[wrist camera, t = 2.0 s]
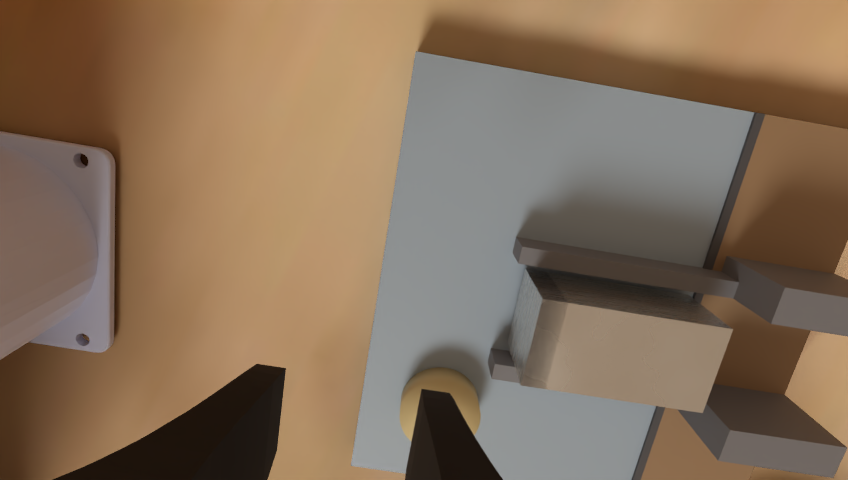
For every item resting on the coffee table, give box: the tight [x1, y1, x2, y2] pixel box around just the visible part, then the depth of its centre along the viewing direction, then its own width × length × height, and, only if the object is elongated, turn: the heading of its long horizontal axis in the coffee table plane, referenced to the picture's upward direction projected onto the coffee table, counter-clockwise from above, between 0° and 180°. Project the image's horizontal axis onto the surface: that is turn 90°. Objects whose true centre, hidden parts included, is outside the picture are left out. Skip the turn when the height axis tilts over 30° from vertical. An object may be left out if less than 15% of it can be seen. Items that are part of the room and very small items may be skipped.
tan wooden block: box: [507, 268, 733, 413], centre depth 18 cm, size 6×3×3 cm, turn 80°
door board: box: [351, 51, 848, 480], centre depth 18 cm, size 16×16×4 cm
